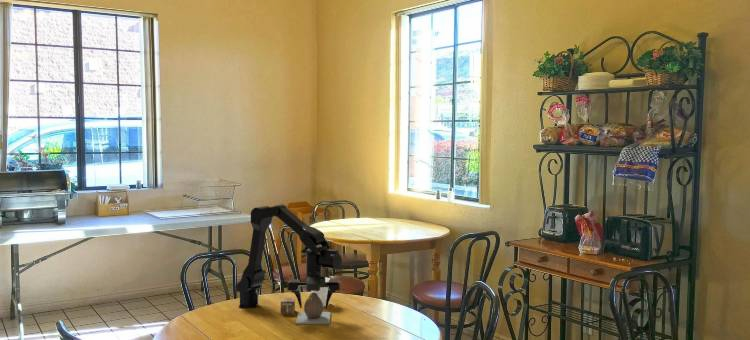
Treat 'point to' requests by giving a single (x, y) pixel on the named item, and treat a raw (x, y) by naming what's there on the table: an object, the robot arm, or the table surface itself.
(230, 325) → the table surface
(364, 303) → the table surface
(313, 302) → the vase
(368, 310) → the table surface
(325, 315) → the grey mat
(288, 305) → the letter cube
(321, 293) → the white cup
